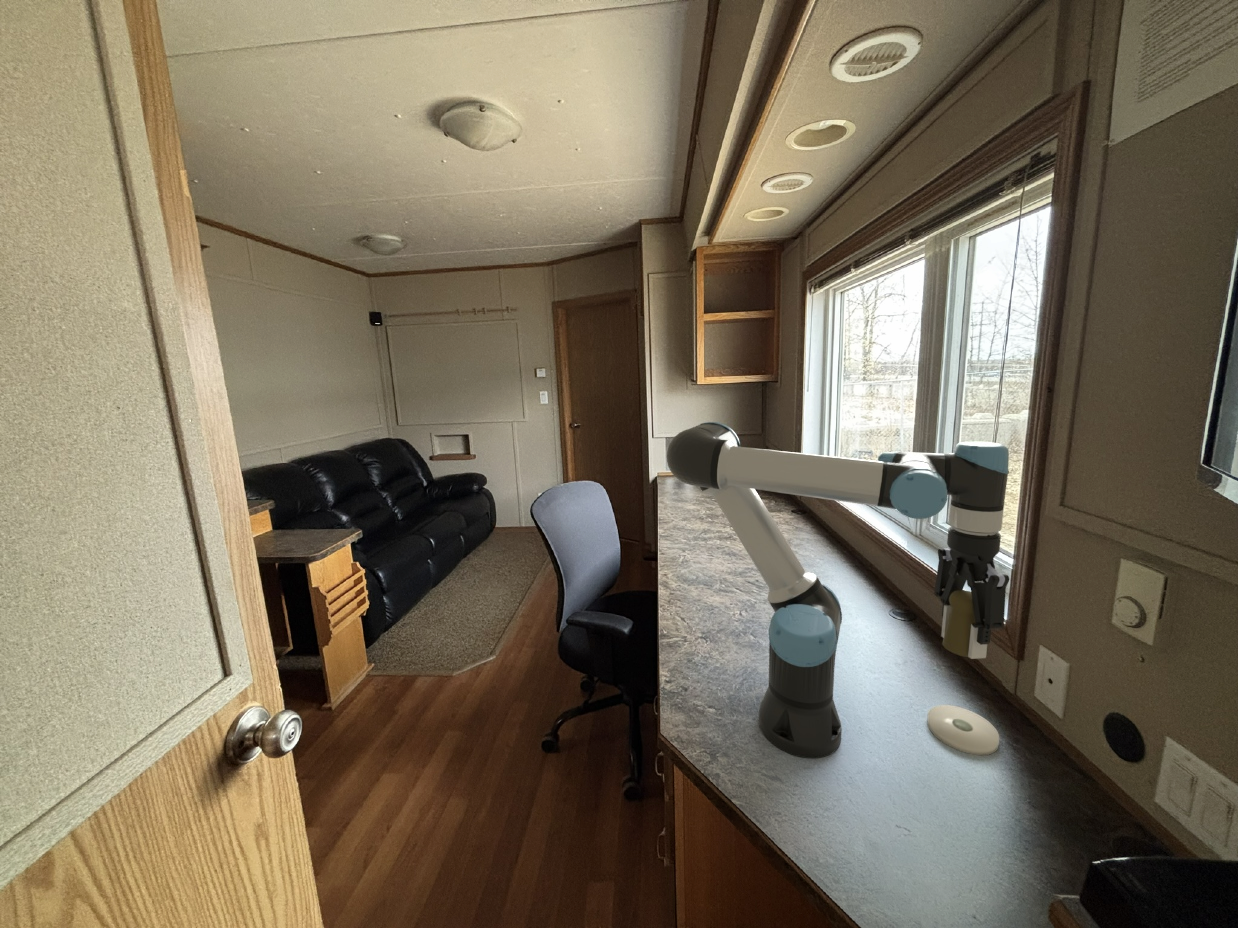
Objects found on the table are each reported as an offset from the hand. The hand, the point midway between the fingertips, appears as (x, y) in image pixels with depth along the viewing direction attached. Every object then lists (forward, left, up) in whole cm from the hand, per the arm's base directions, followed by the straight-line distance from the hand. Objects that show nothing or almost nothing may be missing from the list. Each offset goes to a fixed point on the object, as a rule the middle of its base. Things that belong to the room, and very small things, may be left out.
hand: (962, 646), depth 88 cm
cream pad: (0, -2, -17) cm, 17 cm away
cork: (0, 0, 0) cm, 0 cm away
